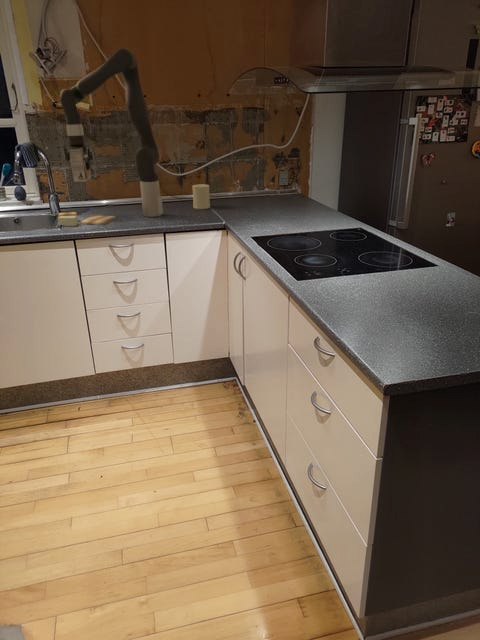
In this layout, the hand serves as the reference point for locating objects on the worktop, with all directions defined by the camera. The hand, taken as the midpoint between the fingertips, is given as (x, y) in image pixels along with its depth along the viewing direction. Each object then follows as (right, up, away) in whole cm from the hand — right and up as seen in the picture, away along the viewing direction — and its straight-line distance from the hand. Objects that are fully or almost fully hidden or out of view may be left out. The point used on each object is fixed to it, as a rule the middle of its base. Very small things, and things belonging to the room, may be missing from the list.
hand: (81, 169), depth 242 cm
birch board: (+10, -26, -3) cm, 28 cm away
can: (+58, -14, +22) cm, 64 cm away
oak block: (-6, -26, -2) cm, 27 cm away
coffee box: (0, -5, +2) cm, 5 cm away
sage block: (-3, -29, -9) cm, 31 cm away
